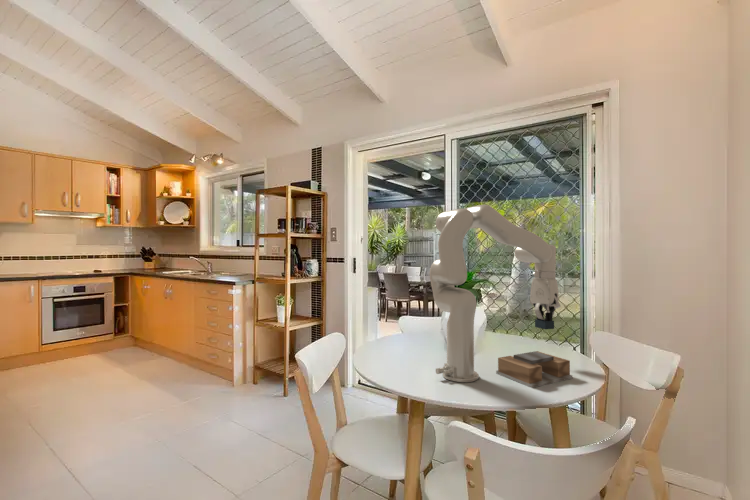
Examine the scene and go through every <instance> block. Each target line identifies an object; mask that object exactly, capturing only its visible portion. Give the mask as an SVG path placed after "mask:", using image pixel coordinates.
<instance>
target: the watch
mask: <svg viewBox="0 0 750 500" xmlns="http://www.w3.org/2000/svg"><path fill="white" fill-rule="evenodd" d="M540 304H541V303H536V305H535V307H534V314H535V315H536V319H534V328H536V329H537V328H538V329H541V330H553V329H555V320H552V321H545V318H544V319H543V317H542V315H541V312H540V311H539V306H540ZM553 305H554V304H553ZM535 308H536V309H535ZM543 308H544V309H545V310H546V311H547V309H546V305H544V304H543ZM555 311H556V310H555ZM555 311H554V312H553V314H552V318H554V314H555ZM537 317H538V318H539V319H541V320H537Z"/></svg>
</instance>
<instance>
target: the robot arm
mask: <svg viewBox="0 0 750 500" xmlns="http://www.w3.org/2000/svg"><path fill="white" fill-rule="evenodd" d="M435 226H436V227H435V228H436V229H437V230H438V231H439V232H440V235H439V238H438V243H437V245H438V246H437V249H438V255H439V257H438V259H436V260H434V261H433V262H432V263H431V265H430V268H429V279H430V286H431V291H432V297H433V301H434V304H435V305H436V306H437V308H438V309H439V310H441V311H443V312H446V313H449V316H448V319H447V322H446V363H444V365H443V366H442V367H437V368H435V373H436V374H437V375H441V374H442V377H443V378H444V379H446V380H449V381H451V382H457V383H471V382H476V381H477V380H479V377H480V376H479V373H478V372H477V371H475V314H476V311H477V310H476V309H477V299H476V296H475V295H474V293H473V292H472V291H470V290H468V289H466V288H461V287H455V286H461V285H463V284H464V283H465V282H466V281H467V279H468V270H467V266H466V260H465V254H464V245H463V243H464V239H465V236H466V235H467V233H468V232H469V230H472V229H478V228H479V229H481V230H482V231H484V233H486V234H488V235H489V236H490V237H491V238H492V239H494V241H496V242H498V243H499V244H502V245H506V246H510V247H516V248H515V250H514V256H515V259H516V260H518V261H519V262H522V263H529V264H530V263H532V264H534V271H533V273H532V274H533V276H534V278H532V281H531V286H530V297H529V298H530V299H529V300H530V301H529V303H530V304H531V305H532V306H533V308H534V310H535V309H536V308H535V305H536V303H541V304H540V306H539V311H540V312H541V315H542V317H543V319H545V321H553V317H552V314H553V312H554V311H556V310H557V309H559V308H561V304H560V301H559V298H560V297H559V295H560V294H559V286H558V285H559V284H558V281H557V279H556V264H557V263H556V260H557V255H556V254H557V253H556V252H557V248H556V246H555V245H553V244H548V243H547V241H545V240H544V239H543V238H542V237H540V236H539V235H537V234H536V233H534V232H532V231H530V230H527V229H525V228H523V227H520V226H517V225H515V224H514V223H512V222H511V221H509V220H508V219H507V218H506V217H504V216H503V215H502V214H501V213H500V212H499V211H497V210H496V209H495V208H493V207H492V206H491V205H489V204H479V205H473V206H469V207H465V208H456V209H455V208H454V209H452V210H446V211H443V212H441V213H439V214H438V215H437V217H436V219H435ZM543 304H544V305H546V309H547V310H546V309H545V310H546V312H545V313H544V310H543V308H544V307H543ZM553 304H554V305H553ZM554 313H555V312H554ZM544 317H545V318H544ZM536 319H537V320H541V319H539V318H538V317H537V316H536Z"/></svg>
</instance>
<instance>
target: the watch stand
mask: <svg viewBox="0 0 750 500" xmlns="http://www.w3.org/2000/svg"><path fill="white" fill-rule="evenodd" d="M570 362H571V360H569V359H566V358H562V357H560V356H559V357H558V356H556V355H552V354H549V353H545V352H542V351H538V350H537V351H535V350H534V351H529V352H524V353H516V354H513V355H507V356H501V357H498V358H497V369H498V370H495V373H496V374H497V375H500V376H502V377H504V378H507V379H509V380H512V381H513V382H516V383H518V384H519V383H520V384H521V385H524V386H525V387H526V386H527V387H528V388H531V389H532V388H536V387H537V388H538V387H540V386H541V387H542V386H547V385H549V384H553V383H554V384H555V383H558V382H559V383H560V382H562V381H566V380H572V379H573V375H572V374H571V365H570V364H571V363H570Z"/></svg>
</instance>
